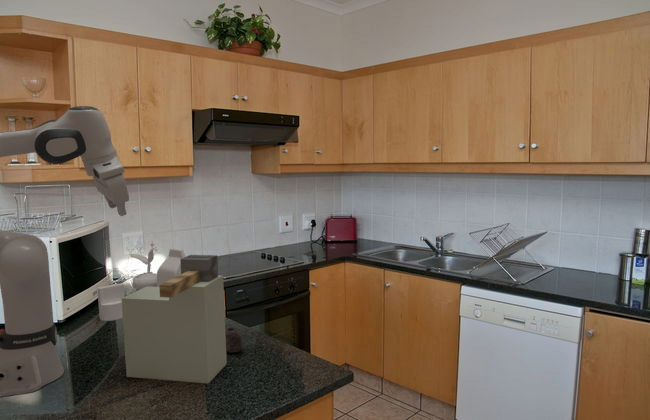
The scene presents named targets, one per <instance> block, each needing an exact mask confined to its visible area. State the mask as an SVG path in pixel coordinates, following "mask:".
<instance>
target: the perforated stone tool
mask: <svg viewBox="0 0 650 420" xmlns="http://www.w3.org/2000/svg"><path fill="white" fill-rule="evenodd" d="M225 335H226V352H228V353H232V354H233V353H239V352H240V351H241V350H242V347H243V342H242V341H243V340H242V338H241V337H242V336H241V335H240V332H239V330H238V329H237V328H236V327H235V326H234V325H232V324H225Z"/></svg>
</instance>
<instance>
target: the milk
mask: <svg viewBox="0 0 650 420" xmlns="http://www.w3.org/2000/svg"><path fill="white" fill-rule="evenodd" d="M184 257H186V253H185V252H184V250H183V249H177V248H171V249H169V252H168V256H167V257H166V259H165V260H164V261H163V262H162V263H161V264H160V266H159V267H158V269H157V272H156V274H157V287H159V285H160V284H162V283H164V282H166V281H168V280H170V279H173V278H175V277H177V276H179V275H181V262H180V259H182V258H184Z"/></svg>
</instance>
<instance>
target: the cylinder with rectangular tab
mask: <svg viewBox="0 0 650 420" xmlns="http://www.w3.org/2000/svg"><path fill="white" fill-rule="evenodd" d="M123 297H125V285H124V283H122V282H121V283H114V284H110V285H109V284H108V285H103V286H98V287H97V298H98V301H97V302H98V312H99V320H101V321H104V322H106V321H107V322H109V321H117V320H121V319H123V313H122V298H123Z"/></svg>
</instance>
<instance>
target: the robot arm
mask: <svg viewBox="0 0 650 420" xmlns="http://www.w3.org/2000/svg"><path fill="white" fill-rule="evenodd" d="M34 153H36V154H37V156H38V157H39V158H40V159H41V160H42V161H44V162H46V163H48V164H54V165H61V164H65V163H67V162H69V161H73V160H75V159H76V158H78V157H80V158H81V161H82V165H83V168H84V169H85V173H86V175H87V176H88V177H92V179H93V181H94V185H95V188H96V190H97V192H99V193H100V194H101V195H103V197H104V198H105V200H106V202H107V204H108V207H109V208H110V209H114V208H116V209H117V213H118V215H119V216H120V217H123V216H126V215H127V210H126V203H127V202H129V200H130V195H129V190H128V186H127V182H126V179H125V178H126V177H125V176H124V173H125V168H124V166H123V164H122V163H121V161H120V158H119V155H118V153H117V149H116V148H115V147H114V145H113V142H112V135H111V131H110V127H109V125H108V122H107V121H106V118H105V116H104V114H103V113H102V111H101V110H100V109H98V108H97V107H95V106H89V105H87V106H86V105H84V106H83V105H79V106H72V107H70V108H68V109H67V110H66V112H64V113H63V115H61V116H60V117H59V118H58V119H50V120H47V121H45V122H42V123H40V124H39V125H37V126H35V127H33V128H29V129H27V128H26V129H20V130H10V131H2V132H1V131H0V158H3V157H11V156H20V155H26V154H34ZM47 248H48V247H47V245H46V244H45V242H44V241H43V240H42V239H41V238H40V237H38V236H36V235H32V234H28V233H21V232H14V231H7V230H0V294H1V299H2V301H1V302H2V307H3V308H2V309H3V319H4V328H5V329H4V328H3V329H2V328H1V329H0V397H7V396H13V395H20V394H27V393H33V392H36V391H38V390H40V389H41V388H42V387H44V386H45V385H48V384H50V383H52V382H54V381H56V380H57V379H60V378H61V377H62V376H63V375H64V373H65V368H64V367H63V365H62V361H61V359H60V356H59V352H58V348H57V347H58V346H57V343H58V332H57V327H56V323H55V322H54V312H53V302H52V301H53V300H52V288H51V276H50V274H51V273H50V262H49V261H50V260H49V253H48V249H47Z"/></svg>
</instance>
